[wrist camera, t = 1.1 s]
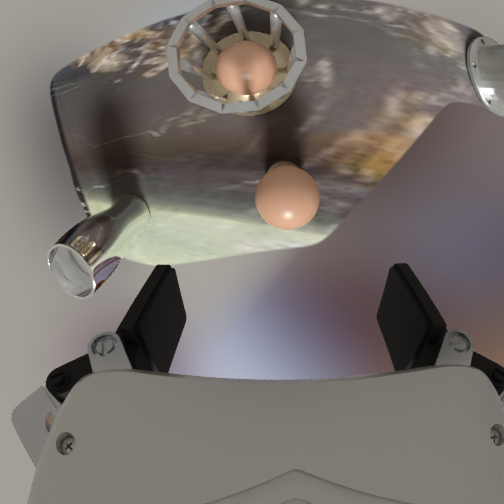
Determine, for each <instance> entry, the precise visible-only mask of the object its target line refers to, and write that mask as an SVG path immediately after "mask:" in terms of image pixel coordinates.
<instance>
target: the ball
mask: <svg viewBox="0 0 504 504" xmlns="http://www.w3.org/2000/svg"><path fill="white" fill-rule="evenodd" d="M215 71H216V76H217V78H218V80H219V82H220V83H221V85H222V86H223V87H224V88H226V89H227V90H229V91H230V92H232V93H235V94H238V95H254V94H257V93H260V92H262V91H264V90H265V89H266V88H268V87H269V86H270V85H271V83H272V82H273V81H274V79H275V77H276V73H277V62H276V59H275V57H274V55H273V53H272V52H271V51H270V50H269V49H268V48H267V47H266V46H264V45H262V44H260V43H258V42H254V41H239V42H235V43H233V44H231V45H229V46H227V47H226V48H225V49H224V50H223V51H222V52H221V53H220V54H219V56H218V58H217V61H216V66H215Z"/></svg>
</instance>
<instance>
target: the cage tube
mask: <svg viewBox="0 0 504 504" xmlns="http://www.w3.org/2000/svg"><path fill="white" fill-rule="evenodd" d="M243 4H247V5H251V6H254V7H257V8H260V9H263V10H265V11H268V12H270V30H271V35H268V34H265V33H261V32H254V31H247V28H246V25H245V22H244V19H243V16H242V14H241V11H240V8H239V5H243ZM220 7H226V8H227V10H228V12H229V14H230V16H231V18H232V20H233V22H234V24H235V26H236V28H237V30H238V32H239V33H235V34H232V35H230V36H227V37H225V38H224V39H222V40H220V41H219V42H218V43H216V42H215V41H214V40H213V39H212V37H211V36H210V35H209V34H208V33H207V32H206V31H205V30H204V29H203V28H202V27H201V26H200V25H199V24H198V23H197V20H199V19H200V18H202V17H203V16H205V15H206V14H208V13H209V12H211V11H212V10H214V9H216V8H220ZM282 23H283V24H284V25H285V26H286V27H287V29H288V30H289V31H290V32H291V33H292V34H293V43H294V44H293V46H292V50H291V52H290V50H289V49H288V48H287V47H286V46H285V44H283V43H282V42H281V41H280V34H281V24H282ZM188 30H189V31H191V32H192V33H193V34H194V35H195V36H196V37H198V38H199V39H200V40H201V41H202V42H203V43H204V44H205V45H207V46H208V47H209V48H210V49H211V50H210V51H209V53H208V54H207V56H206V58H205V60H204V63H203V67H202V68H200V67H198V66H196V65H194V64H193V63H191V62H189V61H187V60H185V59H183V58H181V57H180V52H179V47H180V45H181V43H182V41H183V39H184V38H185V36H186V34H187V32H188ZM239 41H254V42H258V43H260V44H262V45H264V46H266V47H267V48H268V49H269V50H270V51H271V52H272V53H273V55H274V57H275V59H276V62H277V73H276V77H275V79H274V81H273V82H272V83H271V85H270V86H269V87H268V88H266V89H265V90H264V91H262V92H260V93H257V94H254V95H238V94H235V93H232V92H230V91H229V90H227V89H226V88H224V87H223V86H222V85H221V83H220V82H219V80H218V78H217V76H216V71H215V66H216V61H217V58H218V56H219V54H220V53H221V52H222V51H223V50H224V49H225V48H226V47H227V46H229V45H231V44H233V43H235V42H239ZM167 57H168V68H169V76H170V78H171V79H172V81H173V82H174V83H175V84H176V86H177V87H178V88H179V89H180V90H181V92H182V93H183V94H184V95H185V97H186V98H187V99H188V100H189V101H190V102H192V103H195V104H198V105H201V106H203V107H206V108H209V109H211V110H214V111H216V112H219V113H221V114H225V113H234V114H238V115H245V116H253V115H260V114H264V113H267V112H270V111H272V110H274V109H276V108H277V107H279V106H280V105H281V104H282V103H284V102H285V101H286V100H287V98H288V97H289V96H290V94H291V93H292V91H293V89H294V87H295V84H296V80H297V78H298V77H299V75H300V73H301V71H302V69H303V67H304V66H305V64H306V62H307V58H306V48H305V40H304V32H303V29H302V28H301V26H300V25H299V24H298V23H297V22H296V21H295V19H294V18H293V17H292V16H291V15H290V14H289V13H288V12H287V10H286V9H285V8H284V7H283V6H282V5H280V4H278V3H275V2H272V1H269V0H208V1H206V2H205V3H203V4H201V5H200V6H198V7H197V8H195V9H194V10H192V11H191V12H189V13H188V14H186V15H185V16H184V17H182V18H181V20H180V22H179V24H178V26H177V27H176V29H175V31H174V33H173V35H172V37H171V39H170V41H169V43H168V45H167ZM181 70H183V71H186V72H188V73H191V74H193V75H196V76H198V77H201V78H202V81H203V85H204V88H205V90H206V92H203V91H199V90H195V89H194V88H193V87H192V86H191V84H190V83H189V82H188V81H187V80H186V78H185V77H184V76H183V75H182V73H181Z"/></svg>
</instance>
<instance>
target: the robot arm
mask: <svg viewBox="0 0 504 504" xmlns="http://www.w3.org/2000/svg"><path fill="white" fill-rule="evenodd" d="M467 66H468V71H469V75H470V78H471V82H472V84H473V86H474V89H475V91H476V93H477V95H478V96H479V98H480V99H481V101H482V102H483V104H484V105H485V106H486V107H487V108H488V109H489V110H490V111H491V112H493V113H495V114H497V115H500V116H504V45H499V44H498V43H497V42H496V41H494V40H493V39H490V38H488V37H477V38H474V39H473V40H472V41H471V42H470V44H469V46H468V50H467ZM377 321H378V324H379V326H380V329H381V332H382V334H383V337H384V340H385V343H386V346H387V348H388V351H389V354H390V357H391V360H392V363H393V366H394V369H395V371H393V372H385V373H378V374H370V375H360V376H351V377H350V376H349V377H337V378H321V379H297V380H296V379H295V380H258V379H257V380H256V379H230V378H214V377H202V376H192V375H181V374H172V373H168V372H169V369H170V366H171V363H172V360H173V357H174V354H175V351H176V348H177V345H178V342H179V340H180V337H181V334H182V331H183V328H184V326H185V323H186V312H185V309H184V305H183V300H182V296H181V293H180V288H179V284H178V280H177V276H176V271H175V269H174V268H171V266H170V265H157V266H156V267H155V269H154V270H153V272H152V273H151V275H150V276H149V278H148V279H147V281H146V283H145V284H144V286H143V287H142V289H141V291H140V292H139V294H138V295H137V297H136V298H135V300H134V302H133V304H132V305H131V307H130V308H129V310H128V312H127V314H126V315H125V317H124V319H123V321H122V322H121V324H120V326H119V327H118V329H117V331H116V333H113V332H103V333H100V334H98V335H96V336H95V337H94V338H93V339H92V340H91V341H90V343H89V345H88V354H86V355H84V356H81V357H79V358H77V359H75V360H73V361H71V362H69V363H67V364H65V365H62V366H60V367H58V368H56V369H54V370H53V371H52V372H51V373H50V374H49V376H48V377H47V380H46V387H44V388H43V387H42V386H41V387H40V388H38V389H37V390H36V391H35V392H34V393H32V394H31V395H30V396H29V397H27V398H26V399H25V400H24V401H23V402H21V403H20V404H19V405H18V406H17V407H16V408H15V409H14V410H13V413H12V423H13V425H14V427H15V429H16V431H17V434H18V436H19V438H20V440H21V442H22V444H23V445H24V447H25V449H26V451H27V453H28V455H29V456H30V458H31V460H32V462H33V463H34V465H35V467H36V471H35V475H34V479H33V482H32V486H31V491H30V495H29V499H28V504H504V368H503V367H502V366H500V365H499V364H497V363H495V362H493V361H491V360H489V359H487V358H486V357H483V356H481V355H480V354H478V353H476V352H474V351H473V348H474V344H473V341H472V339H471V338H470V336H469V335H468V334H467V333H465V332H464V331H462V330H458V329H452V330H449V331H447V329H446V323H445V321H444V320H443V318H442V316H441V315H440V313H439V311H438V310H437V308H436V306H435V305H434V304H433V302H432V300H431V299H430V297H429V295H428V294H427V292H426V291H425V289H424V288H423V286H422V285H421V283H420V281H419V280H418V279H417V277H416V276H415V274H414V273H413V271H412V270H411V268H410V267H409V265H408V264H406V263H400V264H394V265H393V267H391V268H390V270H389V273H388V278H387V281H386V285H385V289H384V292H383V296H382V299H381V303H380V307H379V309H378V313H377Z"/></svg>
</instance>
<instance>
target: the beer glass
mask: <svg viewBox="0 0 504 504" xmlns="http://www.w3.org/2000/svg"><path fill="white" fill-rule="evenodd" d="M149 222H150V212H149V209H148V207H147V205H146V203H145V202H144V201H143V200H142V199H141V198H140V197H138V196H136V195H133V194H124V195H121V196H120V197H118V198H117V199H116V200H115V202H114V203H113V204H112V205H111V207H109V208H108V209H106V210H104V211H102V212H99V213H96V214H94V215H92V216H89V217H87V218H85V219H84V220H82V221H80V222H79V223H77V224H76V225H74V226H73V227H72V228H71V229H69V230H68V231H67V232H66V233H65V234H64V235H63V236H62V237H61V238H60V239H59V240H58V241H57V242H56V243H55V244H54V245H53V246H52V247H51V248H50V249H49V251H48V254H47V264H48V268H49V271H50V274H51V276H52V278H53V279H54V281H55V282H56V283H57V285H58V286H59V287H60V288H61V289H62V290H63V291H64V292H65V293H67V294H68V295H70V296H71V297H74V298H76V299H80V300H86V299H89V298H90V297H92V295H93V294H94V293H95V292H96V291H97V290H98V289H99V288H100V287H101V286H102V285H103V283H105V281H106V280H107V279H108V278H109V277H110V276H111V275H112V273H113V272H114V271H115V269H116V268H117V267H118V265H119V263H120V261H121V260H122V258H123V256H124V254H125V252H126V250H127V248H128V246H129V244H130V243H131V241H132V240H133V238H134V237H136V236H137V235H139V234H141V233H142V232H143V231H145V230H146V228H147V227H148V225H149Z"/></svg>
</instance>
